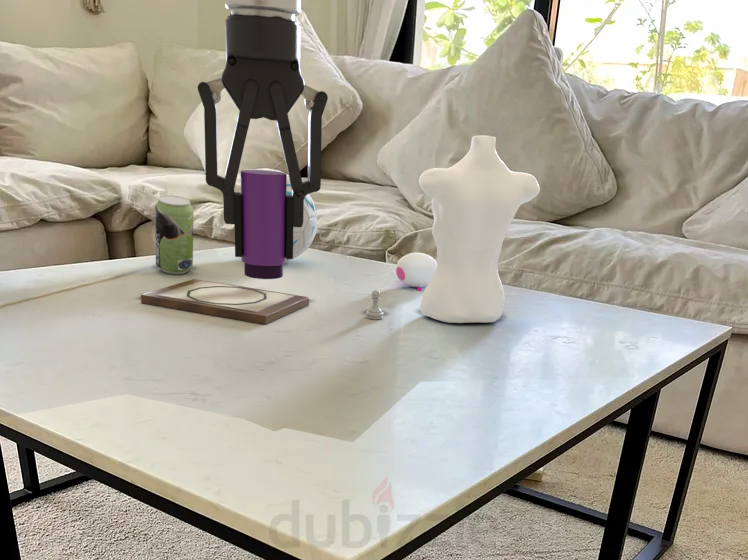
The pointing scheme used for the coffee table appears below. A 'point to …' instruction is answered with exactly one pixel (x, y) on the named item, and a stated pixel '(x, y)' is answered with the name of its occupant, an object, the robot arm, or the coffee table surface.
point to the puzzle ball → (304, 225)
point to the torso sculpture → (471, 232)
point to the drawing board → (226, 300)
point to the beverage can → (174, 234)
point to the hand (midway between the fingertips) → (263, 255)
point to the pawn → (375, 307)
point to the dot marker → (263, 223)
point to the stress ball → (416, 269)
